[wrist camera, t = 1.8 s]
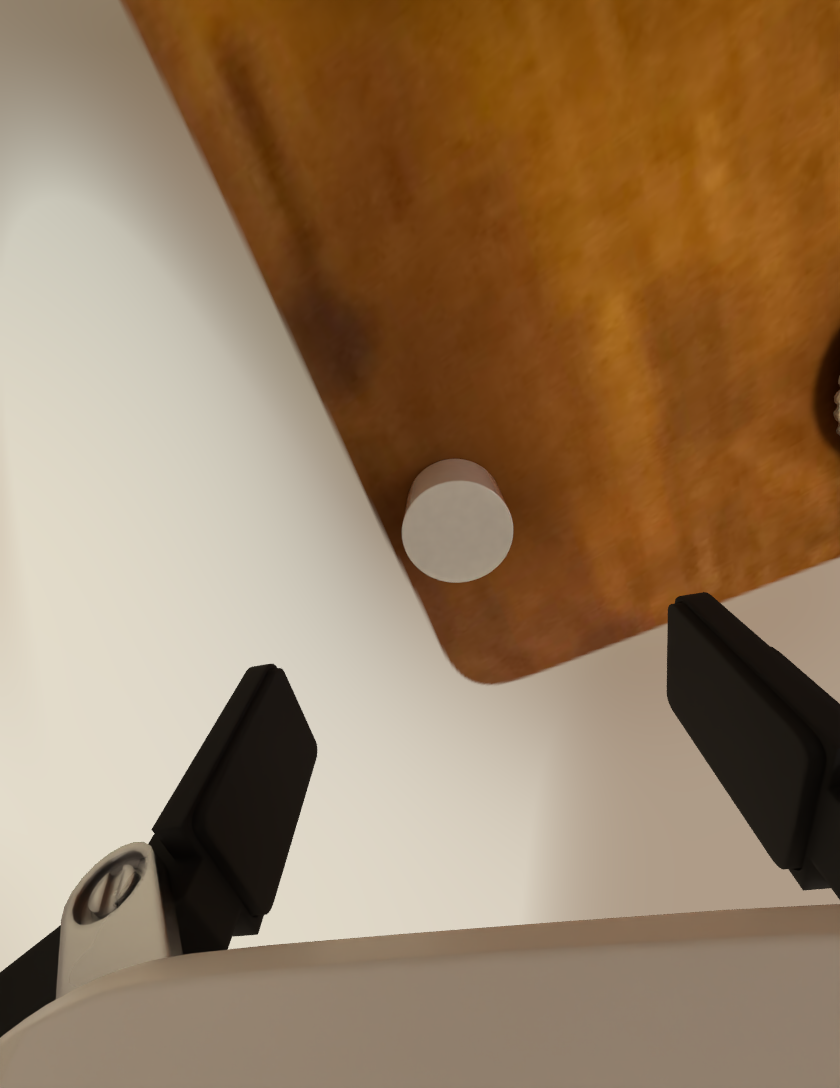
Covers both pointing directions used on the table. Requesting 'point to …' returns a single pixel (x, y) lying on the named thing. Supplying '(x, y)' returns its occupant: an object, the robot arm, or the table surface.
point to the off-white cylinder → (456, 522)
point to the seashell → (839, 412)
